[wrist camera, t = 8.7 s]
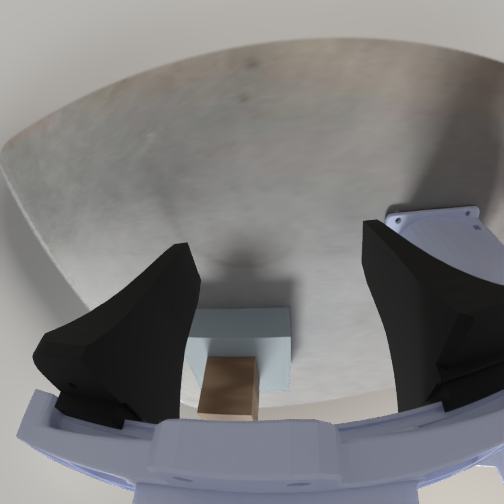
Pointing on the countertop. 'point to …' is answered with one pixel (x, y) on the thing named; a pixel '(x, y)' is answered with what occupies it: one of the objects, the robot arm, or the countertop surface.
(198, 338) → the slate block
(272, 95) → the countertop surface
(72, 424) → the robot arm
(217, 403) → the walnut block
